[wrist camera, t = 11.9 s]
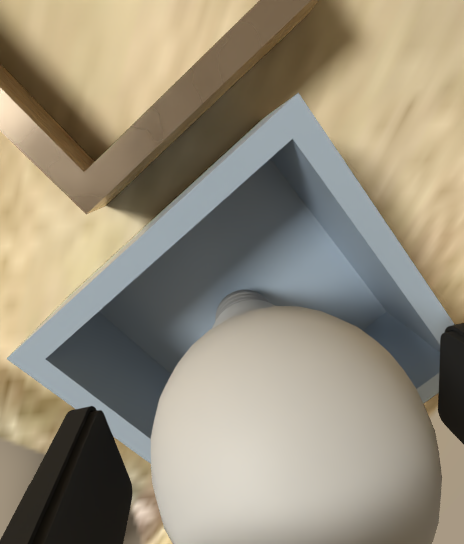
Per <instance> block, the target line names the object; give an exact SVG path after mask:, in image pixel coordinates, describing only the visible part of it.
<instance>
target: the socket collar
mask: <svg viewBox="0 0 464 544" xmlns="http://www.w3.org/2000/svg"><path fill="white" fill-rule="evenodd" d="M318 1H319V0H260V1H259V2H258V3H257V4H256V5H255V6H254V7H253V8H252V9H251V10H250V11H248V12H247V13H246V14H245V15H244V16H243V17H242V18H241V19H240V20H239V21H238V22H237V23H236V24H235V25H234V26H233V27H232V28H231V29H230V30H229V31H228V32H227V33H226V34H225V35H224V36H223V37H222V38H221V39H220V40H219V41H218V42H217V43H216V44H215V45H214V46H213V47H212V48H211V49H210V50H209V51H208V52H207V53H206V54H204V55H203V56H202V57H201V58H200V59H199V60H198V61H197V62H196V63H195V64H194V65H193V66H192V67H191V68H190V69H189V70H188V71H187V72H186V73H185V74H184V75H183V76H182V77H181V78H180V79H179V80H178V81H177V82H176V83H175V84H174V85H173V86H172V87H171V88H170V89H169V90H168V91H167V92H166V93H165V94H164V95H163V96H161V97H160V98H159V99H158V100H157V101H156V102H155V103H154V104H153V105H152V106H151V107H150V108H149V109H148V110H147V111H146V112H145V113H144V114H143V115H142V116H141V117H140V118H139V119H138V120H137V121H136V122H135V123H134V124H133V125H132V126H131V127H130V128H129V129H128V130H127V131H126V132H125V133H124V134H123V135H122V136H121V137H120V138H119V139H117V140H116V141H115V142H114V143H113V144H112V145H111V146H110V147H109V148H108V149H107V150H106V151H105V152H104V153H103V154H102V155H101V156H100V157H99V158H98V159H97V160H96V161H94V160H93V159H92V158H91V157H90V156H89V155H88V154H87V153H86V152H85V151H84V150H83V149H82V148H81V147H80V146H79V145H78V144H77V143H76V142H75V141H74V139H73V138H72V137H71V136H70V135H69V134H68V133H67V132H66V131H65V130H64V129H63V128H62V127H61V126H60V125H59V124H58V123H57V122H56V121H55V120H54V119H53V118H52V117H51V116H50V115H49V114H48V112H47V111H46V110H45V109H44V108H43V107H42V106H41V105H40V104H39V103H38V102H37V101H36V100H35V99H34V98H33V97H32V96H31V95H30V94H29V93H28V92H27V91H26V90H25V89H24V88H23V86H22V85H21V84H20V83H19V82H18V81H17V80H16V79H15V78H14V77H13V76H12V75H11V74H10V73H9V72H8V71H7V70H6V69H5V68H4V67H3V66H2V65H1V64H0V131H1V132H2V133H3V134H4V135H5V136H6V137H7V138H8V139H9V140H10V141H11V142H12V143H13V144H14V145H15V146H16V147H17V148H18V149H19V150H20V151H21V152H23V153H24V154H25V155H26V156H27V157H28V158H29V159H30V160H31V161H32V162H33V163H34V164H35V165H36V166H37V167H38V168H39V169H40V170H41V171H42V172H43V173H44V174H45V175H46V176H47V177H48V178H49V179H50V180H51V181H53V182H54V183H55V184H56V185H57V186H58V187H59V188H60V189H61V190H62V191H63V192H64V193H65V194H66V195H67V196H68V197H69V198H70V199H71V200H72V201H73V202H74V203H75V204H76V205H77V206H78V207H79V208H80V209H81V210H83V211H84V212H85V213H86V214H88V213H90V212H93V211H95V210H97V209H100V208H102V207H104V206H106V205H107V204H108V203H109V202H110V201H111V200H112V199H113V198H114V197H116V196H117V195H118V194H119V193H120V192H121V191H122V190H123V189H124V188H125V187H126V186H127V185H128V184H129V183H130V182H131V181H132V180H134V179H135V178H136V177H137V176H138V175H139V174H140V173H141V172H142V171H143V170H144V169H145V168H146V167H147V166H148V165H149V164H150V163H151V162H153V161H154V160H155V159H156V158H157V157H158V156H159V155H160V154H161V153H162V152H163V151H164V150H165V149H166V148H167V147H168V146H169V145H170V144H172V143H173V142H174V141H175V140H176V139H177V138H178V137H179V136H180V135H181V134H182V133H183V132H184V131H185V130H186V129H187V128H188V127H190V126H191V125H192V124H193V123H194V122H195V121H196V120H197V119H198V118H199V117H200V116H201V115H202V114H203V113H204V112H205V111H206V110H207V109H209V108H210V107H211V106H212V105H213V104H214V103H215V102H216V101H217V100H218V99H219V98H220V97H221V96H222V95H223V94H224V93H225V92H226V91H228V90H229V89H230V88H231V87H232V86H233V85H234V84H235V83H236V82H237V81H238V80H239V79H240V78H241V77H242V76H243V75H244V74H246V73H247V72H248V71H249V70H250V69H251V68H252V67H253V66H254V65H255V64H256V63H257V62H258V61H259V60H260V59H261V58H262V57H263V56H265V55H266V54H267V53H268V52H269V51H270V50H271V49H272V48H273V47H274V46H275V45H276V44H277V43H278V42H279V41H280V40H281V39H282V38H284V37H285V36H286V35H287V34H288V33H289V32H290V31H291V30H292V29H293V28H294V27H295V26H296V25H297V24H298V23H299V22H300V21H302V20H303V19H304V18H305V17H306V16H307V15H308V14H309V13H310V11H311V10H312V9H313V7H314V6H315V5H316V3H317V2H318Z"/></svg>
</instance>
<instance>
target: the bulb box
mask: <svg viewBox="0 0 464 544" xmlns="http://www.w3.org/2000/svg"><path fill="white" fill-rule="evenodd" d="M237 290H252V291H255V292H258V293H259V294H261V295H262V296H263V297H264V298H265V299H266V300H267V301H268V302H269V303H271V304H273V305H275V306H298V307H304V308H309V309H313V310H318V311H322V312H324V313H327V314H329V315H332V316H334V317H337V318H339V319H341V320H343V321H345V322H348V323H350V324H352V325H354V326H357V327H358V328H360V329H361V330H362V331H364V332H365V333H366V334H368V335H369V336H370V337H372V338H373V339H374V340H376V341H377V342H378V343H379V344H380V345H381V346H382V347H384V348H385V349H386V350H387V351H388V352H389V353H390V354H391V355H392V356H393V358H394V359H395V360H396V361H397V362H398V364H399V365H400V366H401V367H402V369H403V370H404V371H405V373H406V374H407V376H408V377H409V379H410V380H411V382H412V383H413V385H414V386H415V388H416V389H417V392H418V394H419V396H420V398H421V400H422V402H423V404H424V403H425V402H426V401H428V400H429V399H431V398H432V397H433V396H435V395H436V394H438V393H439V368H440V338H441V335H442V334H443V333H444V332H445V329H446V328H447V327H448V326H452V325H455V324H454V323H453V321H452V320H451V318H450V317H449V315H448V314H447V312H446V311H445V309H444V308H443V306H442V305H441V303H440V302H439V301H438V299H437V298H436V296H435V295H434V293H433V292H432V290H431V289H430V287H429V286H428V284H427V283H426V281H425V280H424V278H423V277H422V275H421V274H420V272H419V271H418V269H417V268H416V266H415V265H414V263H413V262H412V260H411V259H410V258H409V256H408V255H407V253H406V252H405V250H404V249H403V247H402V246H401V244H400V243H399V241H398V240H397V238H396V237H395V235H394V234H393V232H392V231H391V229H390V228H389V226H388V225H387V223H386V222H385V220H384V219H383V217H382V216H381V215H380V213H379V212H378V210H377V209H376V207H375V206H374V204H373V203H372V201H371V200H370V198H369V197H368V195H367V194H366V192H365V191H364V189H363V188H362V186H361V185H360V183H359V182H358V180H357V179H356V177H355V176H354V174H353V173H352V172H351V170H350V169H349V167H348V166H347V164H346V163H345V161H344V160H343V158H342V157H341V155H340V154H339V152H338V151H337V149H336V148H335V146H334V145H333V143H332V142H331V140H330V139H329V137H328V136H327V134H326V133H325V131H324V130H323V129H322V127H321V126H320V124H319V123H318V121H317V120H316V118H315V117H314V115H313V114H312V112H311V111H310V109H309V108H308V106H307V105H306V103H305V102H304V100H303V99H302V97H301V96H300V94H299V93H297V94H296V95H295V96H293V97H292V98H290V99H289V100H288V101H286V102H285V103H284V104H282V105H281V106H279V107H278V108H277V109H275V110H274V111H273V112H271V113H270V114H268V115H267V116H266V117H264V118H263V119H262V120H261V121H260V122H258V123H257V124H256V125H255V126H254V127H253V128H252V129H251V130H250V131H249V132H248V133H246V134H245V135H244V136H243V137H242V138H241V139H240V140H239V141H238V142H237V143H236V144H234V145H233V146H232V147H231V148H230V149H229V150H228V151H227V152H226V153H225V154H223V155H222V156H221V157H220V158H219V159H218V160H217V161H216V162H215V163H214V164H213V165H211V166H210V167H209V168H208V169H207V170H206V171H205V172H204V173H203V174H202V175H201V176H199V177H198V178H197V179H196V180H195V181H194V182H193V183H192V184H191V185H190V186H189V187H187V188H186V189H185V190H184V191H183V192H182V193H181V194H180V195H179V196H178V197H176V198H175V199H174V200H173V201H172V202H171V203H170V204H169V205H168V206H167V207H166V208H164V209H163V210H162V211H161V212H160V213H159V214H158V215H157V216H156V217H155V218H154V219H152V220H151V221H150V222H149V223H148V224H147V225H146V226H145V227H144V228H143V229H142V230H140V231H139V232H138V233H137V234H136V235H135V236H134V237H133V238H132V239H131V240H129V241H128V242H127V243H126V244H125V245H124V246H123V247H122V248H121V249H120V250H119V251H117V252H116V253H115V254H114V255H113V256H112V257H111V258H110V259H109V260H108V261H107V262H105V263H104V264H103V265H102V266H101V267H100V268H99V269H98V270H97V271H96V272H95V273H93V274H92V275H91V276H90V277H89V278H88V279H87V280H86V281H85V282H84V283H82V284H81V285H80V286H79V287H78V288H77V289H76V290H75V291H74V292H73V293H72V294H70V295H69V296H68V297H67V298H66V299H65V300H64V301H63V302H62V303H61V304H60V305H59V306H58V307H57V308H56V309H55V310H54V311H53V312H52V313H51V314H50V315H49V316H48V317H47V318H46V319H45V320H44V321H43V322H42V323H41V324H40V325H39V326H38V327H37V328H36V329H35V331H34V332H33V333H32V334H31V335H30V336H29V337H28V338H27V339H26V340H25V341H24V342H23V343H22V344H21V345H20V346H19V347H18V348H17V349H16V350H15V351H14V352H13V353H12V354H11V355H10V356H9V357H8V358H7V360H9V361H10V362H12V363H13V364H14V365H16V366H17V367H18V368H20V369H21V370H23V371H24V372H25V373H27V374H28V375H30V376H31V377H32V378H34V379H35V380H36V381H38V382H39V383H41V384H42V385H43V386H45V387H46V388H47V389H49V390H50V391H52V392H53V393H54V394H56V395H57V396H58V397H60V398H61V399H63V400H64V401H65V402H67V403H68V404H69V405H71V406H72V407H74V408H75V409H80V408H84V407H89V406H94V407H95V408H96V410H102V411H103V413H104V415H105V418H106V420H107V423H108V425H109V428H110V430H111V433H112V435H113V437H115V438H116V439H118V440H119V441H120V442H122V443H123V444H124V445H126V446H127V447H129V448H130V449H131V450H133V451H134V452H135V453H137V454H138V455H140V456H141V457H142V458H144V459H145V460H146V461H148V462H149V463H151V435H152V429H153V424H154V419H155V415H156V411H157V406H158V402H159V398H160V396H161V394H162V392H163V390H164V388H165V386H166V384H167V382H168V380H169V378H170V376H171V374H172V373H173V371H174V369H175V367H176V365H177V364H178V362H179V361H180V360H181V358H182V357H183V356H184V355H185V353H186V352H187V351H188V349H189V348H190V347H191V346H192V345H193V344H194V343H195V342H196V341H197V340H198V339H200V338H201V337H202V336H203V335H204V334H205V333H207V332H208V331H209V330H210V329H212V327H213V325H214V323H215V316H216V311H217V308H218V306H219V304H220V302H221V301H222V300H223V298H225V297H226V296H227V295H228V294H230V293H232V292H234V291H237Z"/></svg>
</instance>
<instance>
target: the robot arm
mask: <svg viewBox="0 0 464 544" xmlns="http://www.w3.org/2000/svg"><path fill="white" fill-rule="evenodd" d="M438 412H439V416H440V418H441V420H442V421H443V423H444V424H445V425H446V426H447V427H448V428H449V429H450V431H451V432H452V433H453V434H454V435H455V436H456V437H457V438H458V439H459V440H460V441H461V442H462V443H463V444H464V323H461V324H456V325H452V326H448V327H447V328H446V329H445V332H444V333H443V334H442V335H441V338H440V368H439V399H438ZM131 500H132V484H131V481H130V478H129V476H128V473H127V471H126V468H125V466H124V463H123V461H122V458H121V456H120V453H119V451H118V448H117V446H116V443H115V440H114V438H113V435H112V433H111V430H110V428H109V425H108V423H107V420H106V418H105V415H104V413H103V411H102V410H96V408H95V407H94V406H89V407H84V408H80V409H76V410H71V411H69V412H68V413H67V415H66V417H65V418H64V420H63V422H62V424H61V426H60V428H59V430H58V432H57V434H56V436H55V438H54V440H53V441H52V443H51V445H50V447H49V449H48V451H47V453H46V455H45V457H44V459H43V461H42V462H41V464H40V466H39V468H38V470H37V472H36V474H35V476H34V478H33V480H32V482H31V483H30V485H29V486H28V488H27V491H26V492H25V494H24V496H23V498H22V500H21V502H20V504H19V505H18V507H17V510H16V511H15V513H14V515H13V517H12V519H11V521H10V523H9V525H8V526H7V529H6V530H5V532H4V534H3V536H2V538H1V540H0V544H123V541H124V536H125V531H126V525H127V520H128V515H129V510H130V505H131Z"/></svg>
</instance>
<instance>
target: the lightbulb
mask: <svg viewBox="0 0 464 544" xmlns="http://www.w3.org/2000/svg"><path fill="white" fill-rule="evenodd" d="M151 472H152V484H153V488H154V492H155V496H156V499H157V503H158V507H159V511H160V514H161V518H162V522H163V525H164V529H165V531H166V532H167V534H168V536H169V538H170V540H171V541H172V543H173V544H432V542H433V539H434V536H435V533H436V529H437V526H438V521H439V510H440V497H441V482H442V475H441V466H440V458H439V451H438V446H437V440H436V435H435V430H434V428H433V425H432V423H431V421H430V418H429V416H428V413H427V411H426V409H425V406H424V404H423V402H422V400H421V398H420V396H419V394H418V392H417V389H416V388H415V386H414V385H413V383H412V382H411V380H410V379H409V377H408V376H407V374H406V373H405V371H404V370H403V369H402V367H401V366H400V365H399V364H398V362H397V361H396V360H395V359H394V358H393V356H392V355H391V354H390V353H389V352H388V351H387V350H386V349H385V348H384V347H382V346H381V345H380V344H379V343H378V342H377V341H376V340H374V339H373V338H372V337H370V336H369V335H368V334H366V333H365V332H364V331H362V330H361V329H360V328H358V327H357V326H354V325H352V324H350V323H348V322H345V321H343V320H341V319H339V318H337V317H334V316H332V315H329V314H327V313H324V312H322V311H318V310H313V309H309V308H304V307H298V306H275V305H273V304H271V303H269V302H268V301H267V300H266V299H265V298H264V297H263V296H262V295H261V294H259V293H258V292H255V291H252V290H237V291H234V292H232V293H230V294H228V295H227V296H226V297H225V298H223V300H222V301H221V302H220V304H219V306H218V308H217V311H216V316H215V323H214V325H213V327H212V329H210V330H209V331H208V332H207V333H205V334H204V335H203V336H202V337H201V338H200V339H198V340H197V341H196V342H195V343H194V344H193V345H192V346H191V347H190V348H189V349H188V351H187V352H186V353H185V355H184V356H183V357H182V358H181V360H180V361H179V362H178V364H177V365H176V367H175V369H174V371H173V373H172V374H171V376H170V378H169V380H168V382H167V384H166V386H165V388H164V390H163V392H162V394H161V396H160V398H159V402H158V406H157V411H156V415H155V419H154V424H153V429H152V435H151Z"/></svg>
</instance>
